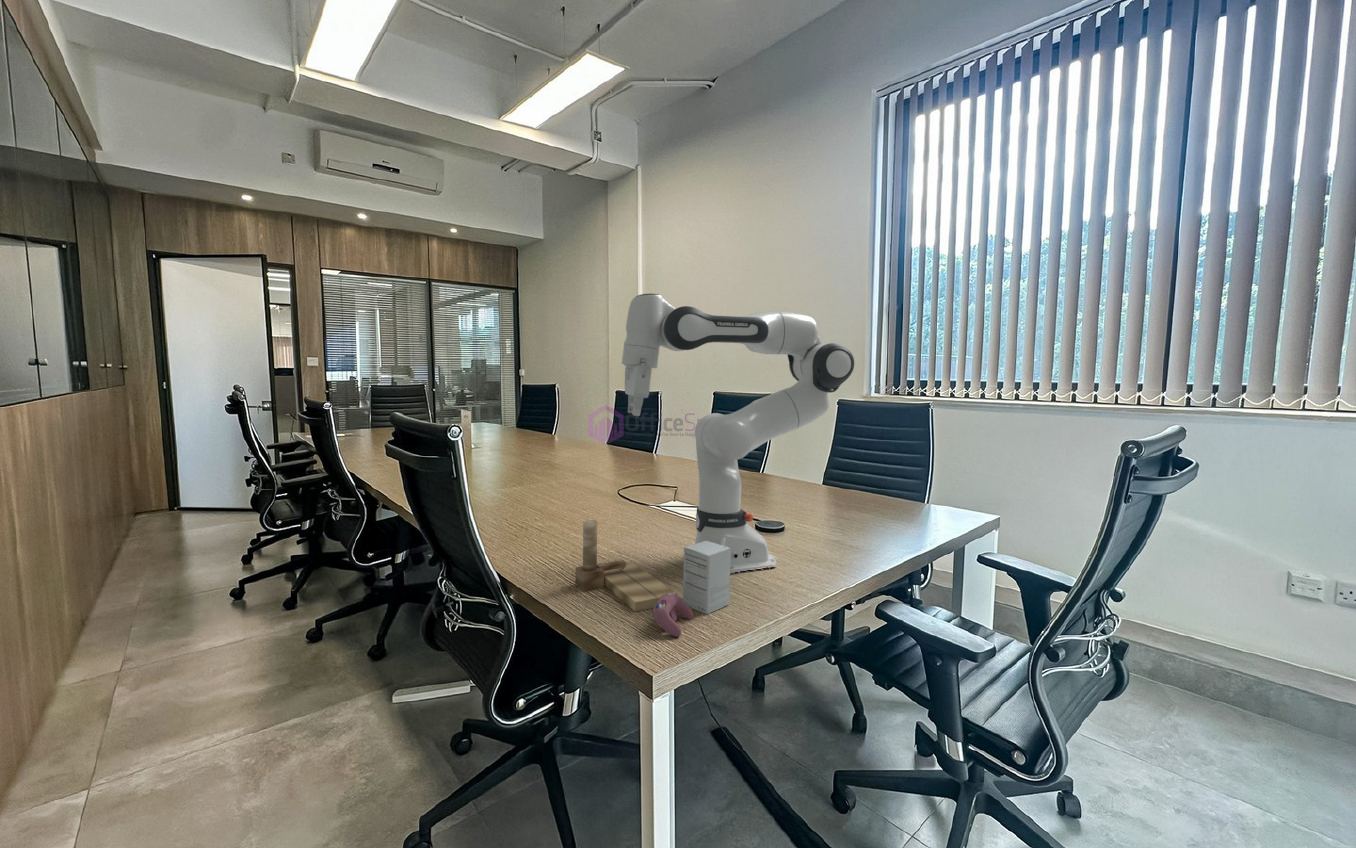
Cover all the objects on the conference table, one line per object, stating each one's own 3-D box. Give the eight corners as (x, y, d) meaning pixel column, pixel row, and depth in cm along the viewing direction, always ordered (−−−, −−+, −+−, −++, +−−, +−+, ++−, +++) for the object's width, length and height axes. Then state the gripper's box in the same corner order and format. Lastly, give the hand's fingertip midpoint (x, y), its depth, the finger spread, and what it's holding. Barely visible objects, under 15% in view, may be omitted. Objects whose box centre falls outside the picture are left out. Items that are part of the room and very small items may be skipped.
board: (594, 576, 131) (595, 568, 130) (632, 570, 136) (632, 562, 135) (635, 611, 112) (635, 602, 112) (677, 602, 117) (677, 593, 117)
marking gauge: (583, 591, 122) (584, 525, 120) (575, 583, 126) (576, 520, 125) (628, 582, 127) (630, 520, 126) (619, 575, 132) (621, 515, 130)
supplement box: (704, 594, 122) (706, 539, 120) (730, 605, 116) (732, 547, 115) (681, 603, 116) (682, 546, 115) (706, 615, 111) (708, 555, 110)
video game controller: (676, 622, 111) (662, 590, 111) (695, 615, 110) (681, 583, 110) (660, 644, 102) (645, 609, 102) (681, 637, 100) (666, 602, 101)
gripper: (659, 359, 125) (652, 419, 126) (646, 361, 145) (640, 413, 146) (632, 356, 124) (625, 416, 125) (623, 358, 144) (617, 410, 145)
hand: (633, 414), depth 136 cm, fingers open, 8 cm apart
